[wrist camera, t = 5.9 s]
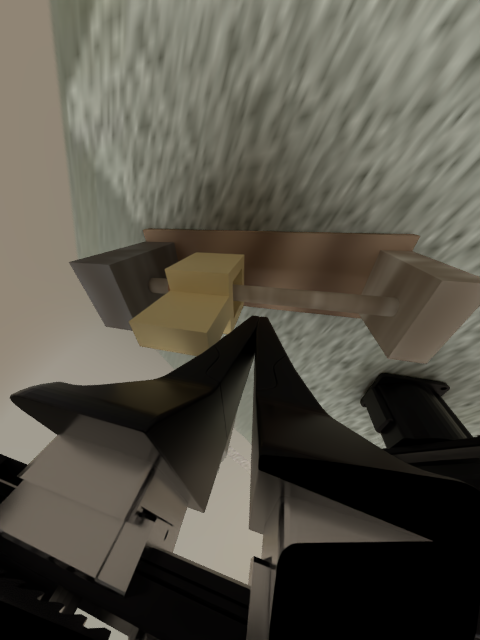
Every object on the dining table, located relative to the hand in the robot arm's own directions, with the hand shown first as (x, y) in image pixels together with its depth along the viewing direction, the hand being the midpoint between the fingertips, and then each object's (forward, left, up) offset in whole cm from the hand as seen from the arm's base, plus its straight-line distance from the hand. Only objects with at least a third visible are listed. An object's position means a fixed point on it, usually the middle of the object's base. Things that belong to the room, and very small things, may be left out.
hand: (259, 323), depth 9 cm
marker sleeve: (+4, 0, -6) cm, 7 cm away
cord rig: (+1, 0, -8) cm, 8 cm away
